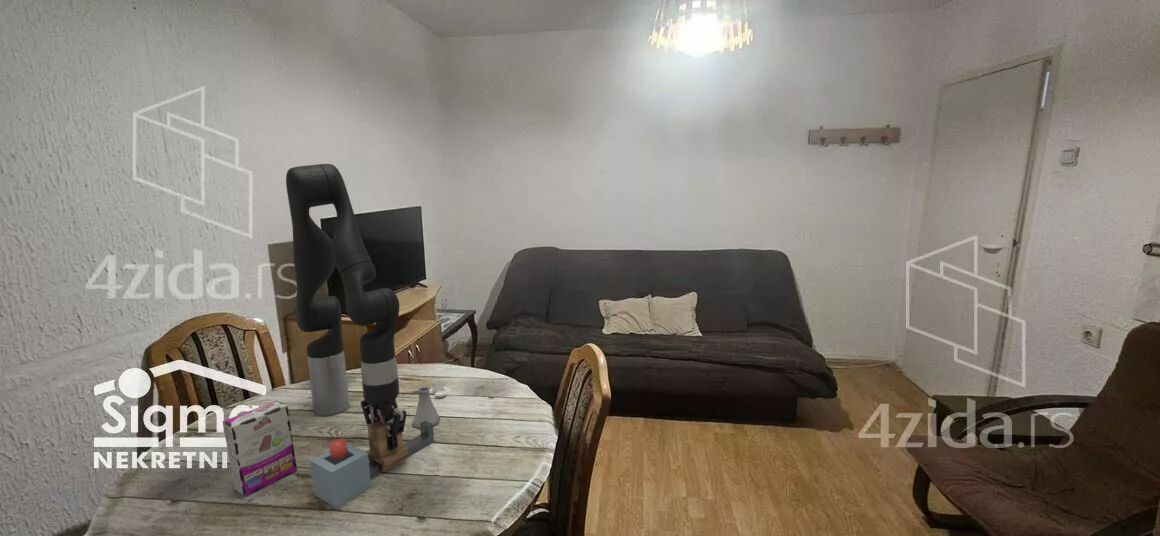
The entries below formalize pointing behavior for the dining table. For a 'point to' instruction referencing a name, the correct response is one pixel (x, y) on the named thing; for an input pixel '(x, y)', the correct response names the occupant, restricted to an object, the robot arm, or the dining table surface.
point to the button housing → (340, 476)
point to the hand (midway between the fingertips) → (386, 445)
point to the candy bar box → (260, 447)
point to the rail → (410, 446)
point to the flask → (425, 409)
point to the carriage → (384, 447)
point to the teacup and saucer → (439, 389)
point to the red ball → (338, 449)
